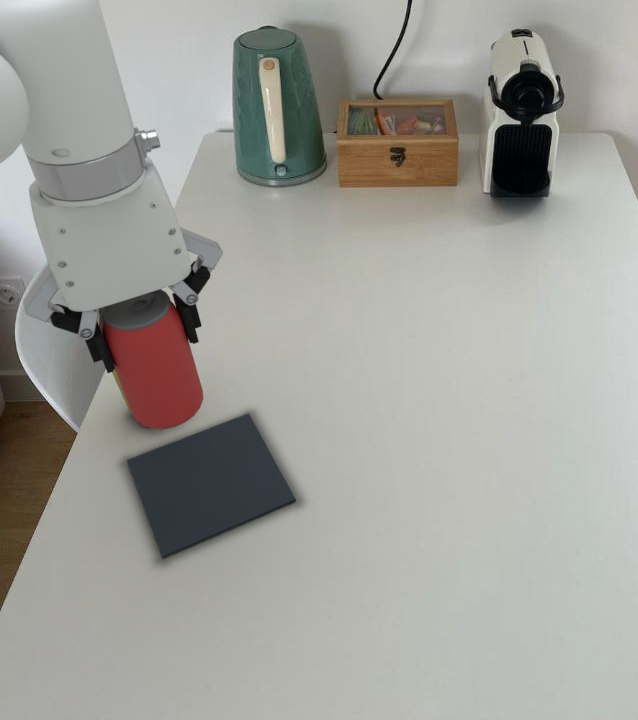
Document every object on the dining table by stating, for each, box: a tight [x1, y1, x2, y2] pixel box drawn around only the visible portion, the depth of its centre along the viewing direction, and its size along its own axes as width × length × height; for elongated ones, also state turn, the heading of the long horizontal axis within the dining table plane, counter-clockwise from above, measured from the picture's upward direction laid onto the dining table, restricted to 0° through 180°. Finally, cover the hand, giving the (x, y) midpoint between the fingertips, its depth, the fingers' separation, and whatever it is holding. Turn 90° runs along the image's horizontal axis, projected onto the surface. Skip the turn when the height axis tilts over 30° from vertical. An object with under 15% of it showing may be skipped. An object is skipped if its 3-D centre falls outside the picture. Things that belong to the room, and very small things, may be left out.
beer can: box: [102, 288, 204, 430], centre depth 71 cm, size 7×7×12 cm
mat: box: [126, 412, 297, 559], centre depth 86 cm, size 14×14×1 cm
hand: (149, 347), depth 70 cm, fingers closed on beer can, 6 cm apart
